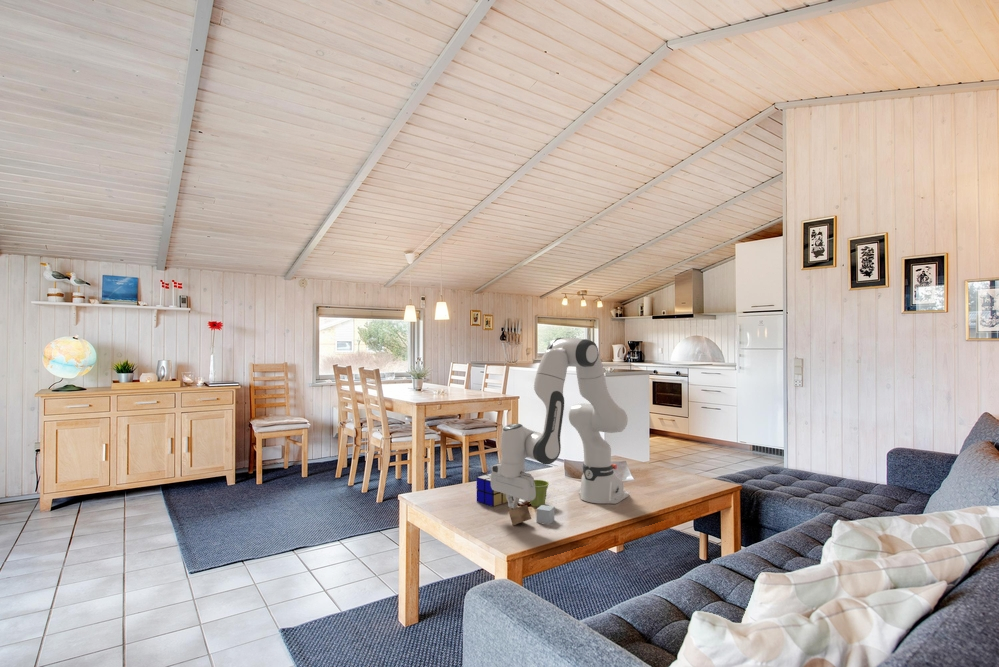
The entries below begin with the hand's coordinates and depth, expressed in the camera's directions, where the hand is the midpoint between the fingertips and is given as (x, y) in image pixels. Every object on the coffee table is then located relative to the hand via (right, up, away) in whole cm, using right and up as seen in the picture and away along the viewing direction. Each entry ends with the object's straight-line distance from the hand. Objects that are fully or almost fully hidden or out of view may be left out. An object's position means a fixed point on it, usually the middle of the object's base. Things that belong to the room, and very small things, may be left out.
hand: (512, 507), depth 189 cm
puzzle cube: (-7, -6, +23) cm, 25 cm away
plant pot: (+10, -6, +19) cm, 23 cm away
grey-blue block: (+12, -5, 0) cm, 13 cm away
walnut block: (+2, 0, -2) cm, 3 cm away
